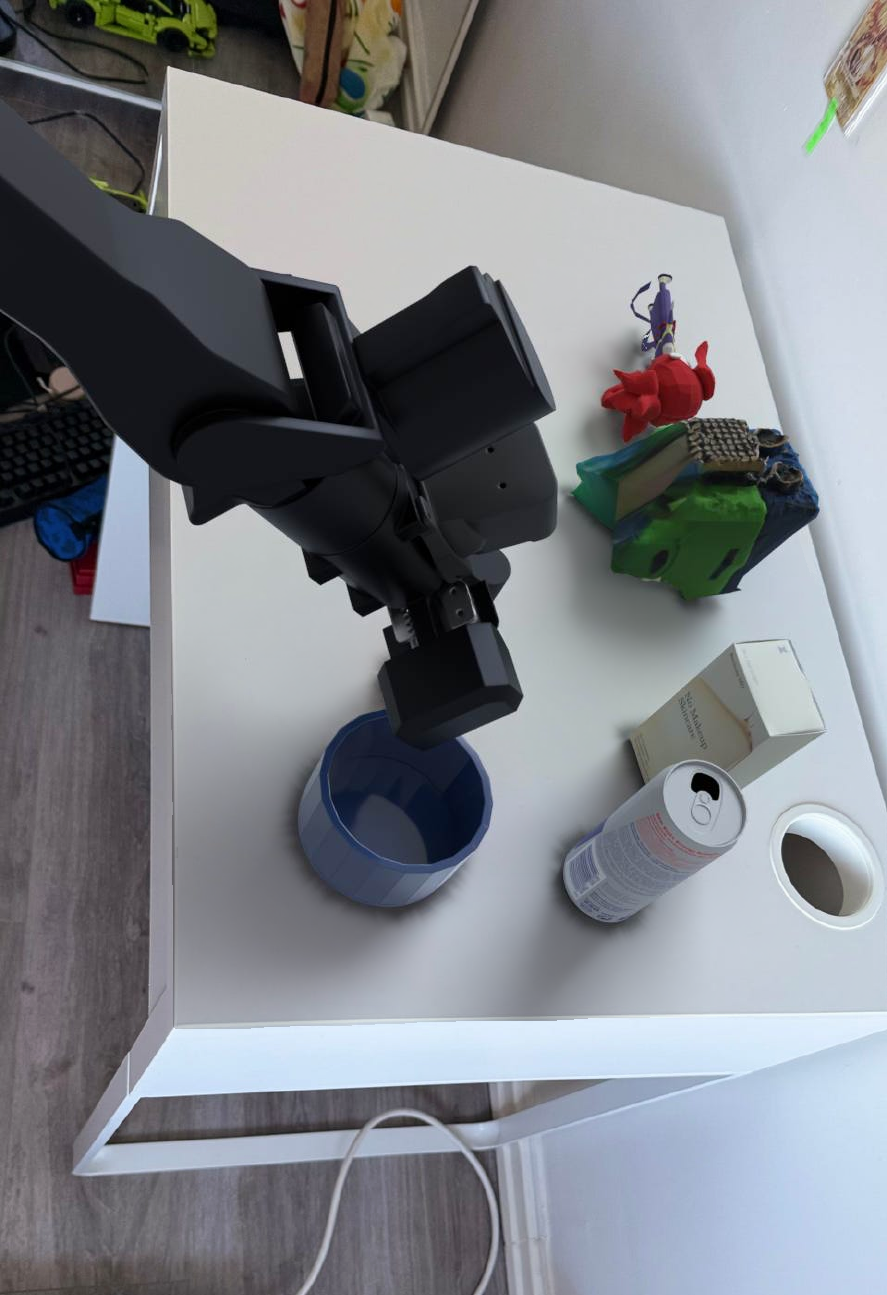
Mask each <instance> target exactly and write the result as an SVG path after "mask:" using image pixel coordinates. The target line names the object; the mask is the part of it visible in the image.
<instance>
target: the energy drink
mask: <svg viewBox="0 0 887 1295" xmlns="http://www.w3.org/2000/svg"><path fill="white" fill-rule="evenodd" d="M748 814H749V813H748V806H747V801H746V799H745V795H744V794H743V792H742V790H740V788H739V786H738V785H737V783H736V782H735V781H734V779H733V778H732V777H731V776H730V775H729V774H728V773H727V772H725V771H724V770H723V769H721V768H720V767H718V766H716V765H714V764H712V763H710V762H707V761H704V760H697V759H694V760H686V761H683V762H680V763H677V764H674V765H670V766H669V767H667V768H665V769H664V770H662V771H661V772H660V773H659V774H658V775H657V776H655V777H654V778H653V779H652V780H651V781H650V782H649V783H647V784H646V785H645V784H644V786H642V787H641V788H640V789H639V790H638V791H637V792H635V794H633V795H632V796H631V797H629V799H628V800H626V801H625V802H624V803H623V804H621V805H620V806H619V807H618V808H617V809H616V810H614V811H613V812H612V813H611V814H610V815H609V816H608V817H607V818H605V819H604V820H603V821H602V822H600V824H599V825H597V826H596V827H595V828H594V829H592V830H591V831H590V832H589V833H587V835H585V836H584V837H583V838H582V839H580V840H579V842H578V843H576V844H575V845H574V846H573V847H572V848H571V849H570V850H569V852H568V853H567V855H566V856H565V859H564V863H563V868H562V869H563V870H562V876H563V883H564V887H565V889H566V890H565V891H567V894H568V896H569V898H570V899H571V901H572V902H573V904H574V905H575V906H576V907H577V908H578V909H579V911H582V912H583V913H584V914H585V915H587V916H588V917H590V918H592V919H594V920H596V921H600V922H603V923H619V922H622V921H624V920H627V919H629V918H630V917H632V916H634V914H636V913H638V912H640V911H641V910H642V909H644V908H645V907H647V906H648V905H650V904H651V903H653V902H654V901H656V900H658V899H659V898H660V897H662V896H663V895H665V894H666V893H668V892H670V891H671V890H672V889H674V888H676V887H677V886H678V885H681V883H683V882H685V881H686V880H687V879H689V878H690V877H692V876H693V875H695V874H697V873H698V872H699V871H701V870H702V869H704V868H706V867H707V866H709V865H710V864H711V863H713V862H714V861H716V860H717V859H719V858H721V857H722V856H724V855H725V854H726V853H728V852H729V851H731V850H732V849H733V848H734V847H735V846H736V844H738V841H739V839H740V838H741V836H742V835H743V834H744V832H745V831H746V827H747V823H748V818H749V817H748Z"/></svg>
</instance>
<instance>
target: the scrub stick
mask: <svg viewBox="0 0 887 1295" xmlns="http://www.w3.org/2000/svg"><path fill="white" fill-rule="evenodd" d="M468 557H469V560H470V563H471V566H472V569H473V573H472V574H470V575H468V576H466V577H464V578H462V579H461V580H463V581H464V582H465V583H466V584H467V586H468V587H470V586H472V585H474V584H476V583H478V582H480V581H482V580H485V579H486V580H487V584H488V587H489V590H490V593H491V596H492V599H493V602H494V601H495V600H496V598H497V597H498V595H500V592H501V591H502V589H503V588H504V587H505V585H506V583H507V582H508V581H509V579H510V577H511V574H512V567H511V563H510V560H509V559H508V557H507V555H506V554H505V553H504V552H503V551H502V550H501V549H500V550H496V551H493V552H489V553H486V554H481V555H474V554H472V555H470V556H468Z"/></svg>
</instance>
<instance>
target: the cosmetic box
mask: <svg viewBox="0 0 887 1295" xmlns="http://www.w3.org/2000/svg"><path fill="white" fill-rule="evenodd" d="M798 656H799V655H798V654H797V651H796V649H795V648H794V645H793V641H792V639H791V638H790V637H782V638H781V637H780V638H763V639H749V640H748V639H747V640H740V641H739V640H738V641H734V642H732V643H731V644H730V645H729V646H728V647H727V648H726V649H725V650H724V651H723V652H721V653H720V654H719V655H718V656H717V657H716V658H714V659H713V660H712V661H711V662H709V664H707V666H706V667H704V668H703V669H702V670H701V671H700V672H699V673H698V674H696V675H695V676H694V677H693V678H692V679H690V680H689V681H688V682H687V683H686V684H685V685H684V686H683V687H682V688H681V689H679V690H678V691H677V692H676V693H675V694H674V695H673V696H672V697H671V698H669V699H668V700H667V701H666V702H665V703H664V704H663V705H662V706H660V707H659V708H658V709H657V710H656V711H655V712H653V714H652V715H650V716H649V717H648V718H647V719H645V721H643V723H642V724H640V725H638V727H637V728H636V729H635V730H634V731H633V732H631V733H630V734H629V739H630V743H631V746H632V748H633V752H634V755H635V757H636V761H637V765H638V766H639V770H640V773H641V776H642V779H643V782H644V786H645V785H646V784H647V783H649V782H650V781H651V780H652V779H653V778H654V777H655V776H657V775H658V774H659V773H660V772H661V771H662V770H664V769H665V768H667V767H669V766H670V765H674V764H677V763H680V762H683V761H686V760H694V759H697V760H704V761H707V762H710V763H712V764H714V765H716V766H718V767H720V768H721V769H723V770H724V771H725V772H727V773H728V774H729V775H730V776H731V777H732V778H733V779H734V781H735V782H736V783H737V785H738V786H739V788H740V790H741V791H742V790H743V789H744V788H745V789H746V787H747V786H749V785H750V784H752V783H753V782H755V781H756V780H757V779H759V778H761V777H762V776H764V775H765V774H766V773H768V772H769V771H771V770H772V769H774V768H775V767H777V766H778V765H779V764H781V763H782V762H784V761H785V760H788V758H790V757H791V756H793V755H794V754H796V753H797V752H799V751H800V750H802V749H803V748H804V747H806V746H808V745H809V744H810V743H812V742H813V741H814V740H816V739H817V738H820V737H821V736H823V735H824V734H825V733H827V731H828V726H827V724H826V722H825V718H824V717H823V714H822V711H821V710H820V706H819V704H818V702H817V699H816V696H815V694H814V691H813V689H812V686H811V684H810V682H809V679H808V677H807V675H806V672H805V671H804V667H803V666H802V663H801V661H800V659H799V657H798Z"/></svg>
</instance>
